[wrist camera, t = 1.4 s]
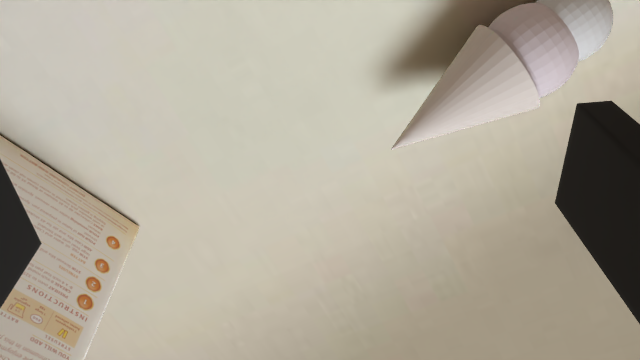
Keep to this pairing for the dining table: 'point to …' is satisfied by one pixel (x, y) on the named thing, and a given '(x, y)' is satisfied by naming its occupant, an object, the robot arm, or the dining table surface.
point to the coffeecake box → (60, 264)
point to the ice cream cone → (511, 65)
